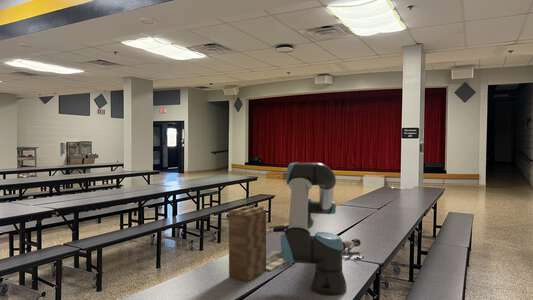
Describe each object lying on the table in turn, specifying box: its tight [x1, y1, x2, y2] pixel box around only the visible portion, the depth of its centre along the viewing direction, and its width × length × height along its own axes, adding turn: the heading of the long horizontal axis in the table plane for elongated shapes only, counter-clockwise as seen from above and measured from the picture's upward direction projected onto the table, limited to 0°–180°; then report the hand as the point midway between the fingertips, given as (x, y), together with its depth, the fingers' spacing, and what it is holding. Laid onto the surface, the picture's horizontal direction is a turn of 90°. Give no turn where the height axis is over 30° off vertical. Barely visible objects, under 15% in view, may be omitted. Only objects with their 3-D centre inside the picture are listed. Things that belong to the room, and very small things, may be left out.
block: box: [266, 248, 282, 265], centre depth 194 cm, size 24×3×3 cm, turn 144°
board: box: [266, 250, 288, 272], centre depth 192 cm, size 26×14×1 cm, turn 146°
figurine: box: [342, 238, 362, 256], centre depth 205 cm, size 22×7×30 cm
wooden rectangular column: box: [228, 204, 267, 283], centre depth 173 cm, size 16×10×32 cm, turn 146°
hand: (277, 234), depth 194 cm, fingers open, 13 cm apart
